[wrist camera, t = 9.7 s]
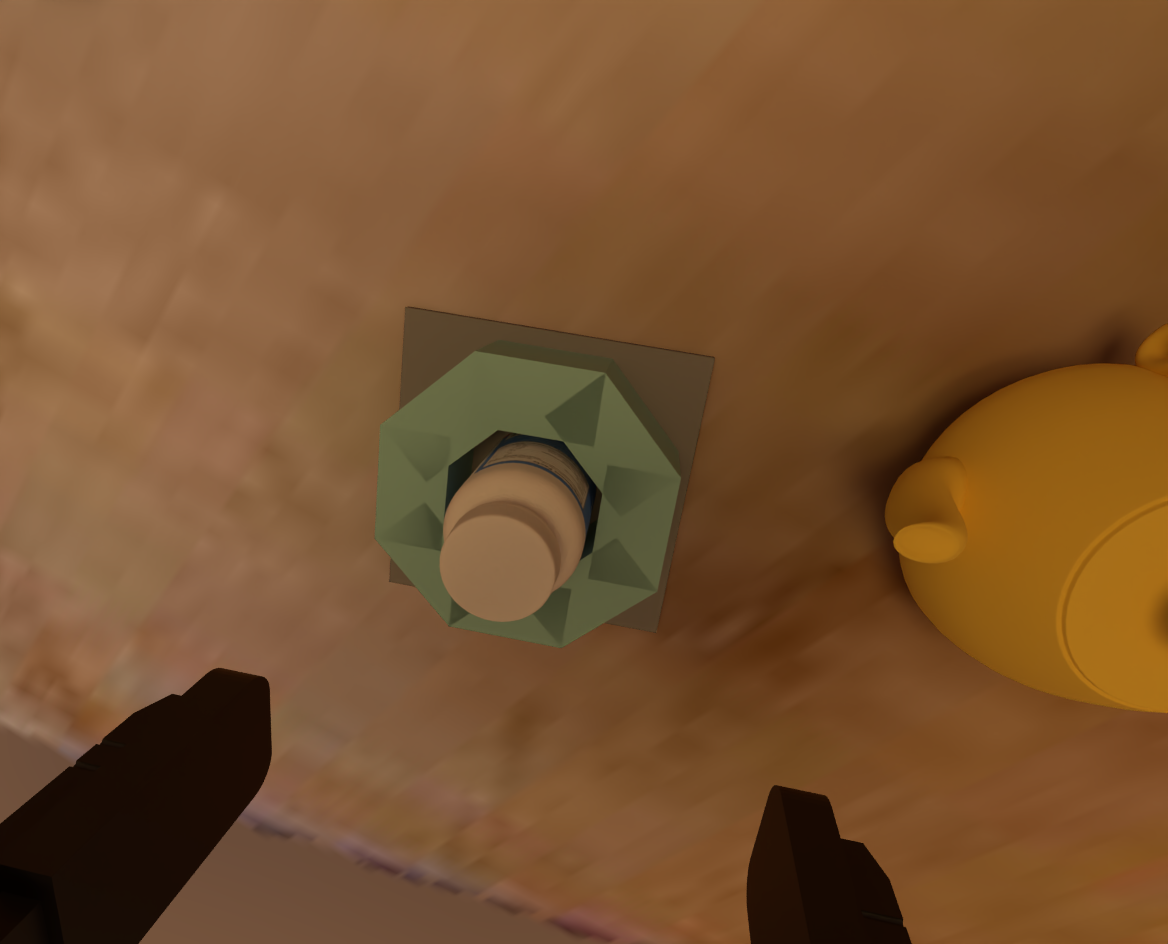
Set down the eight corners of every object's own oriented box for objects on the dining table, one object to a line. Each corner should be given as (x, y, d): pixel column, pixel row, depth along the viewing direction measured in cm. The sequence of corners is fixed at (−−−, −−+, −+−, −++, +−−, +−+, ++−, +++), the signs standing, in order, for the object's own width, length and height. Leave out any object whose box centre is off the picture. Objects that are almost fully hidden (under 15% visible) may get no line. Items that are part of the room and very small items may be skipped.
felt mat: (714, 357, 28) (714, 358, 28) (656, 628, 33) (656, 632, 33) (408, 306, 29) (405, 307, 29) (392, 578, 34) (389, 581, 33)
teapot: (1365, 372, 26) (1875, 449, 15) (1173, 674, 31) (1454, 898, 20) (876, 254, 27) (1025, 246, 16) (762, 568, 31) (817, 728, 20)
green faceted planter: (694, 372, 28) (700, 388, 25) (644, 617, 32) (642, 664, 29) (420, 326, 29) (384, 335, 25) (403, 571, 33) (371, 611, 29)
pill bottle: (547, 551, 32) (503, 671, 23) (464, 479, 31) (383, 574, 22) (623, 476, 30) (608, 572, 21) (537, 398, 29) (482, 463, 20)
